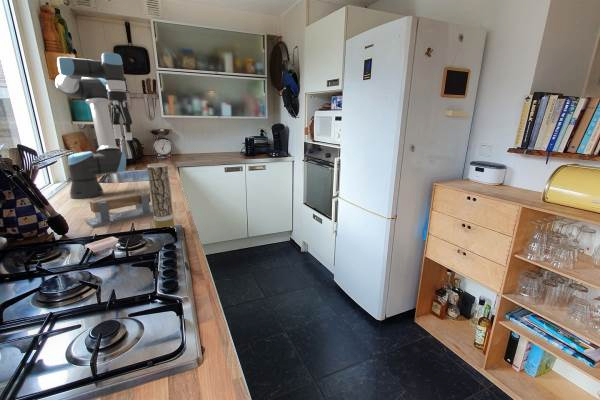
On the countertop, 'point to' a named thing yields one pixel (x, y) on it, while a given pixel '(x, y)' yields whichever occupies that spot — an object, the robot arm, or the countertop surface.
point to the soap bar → (102, 244)
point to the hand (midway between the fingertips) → (123, 139)
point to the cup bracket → (120, 213)
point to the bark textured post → (160, 195)
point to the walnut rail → (119, 201)
